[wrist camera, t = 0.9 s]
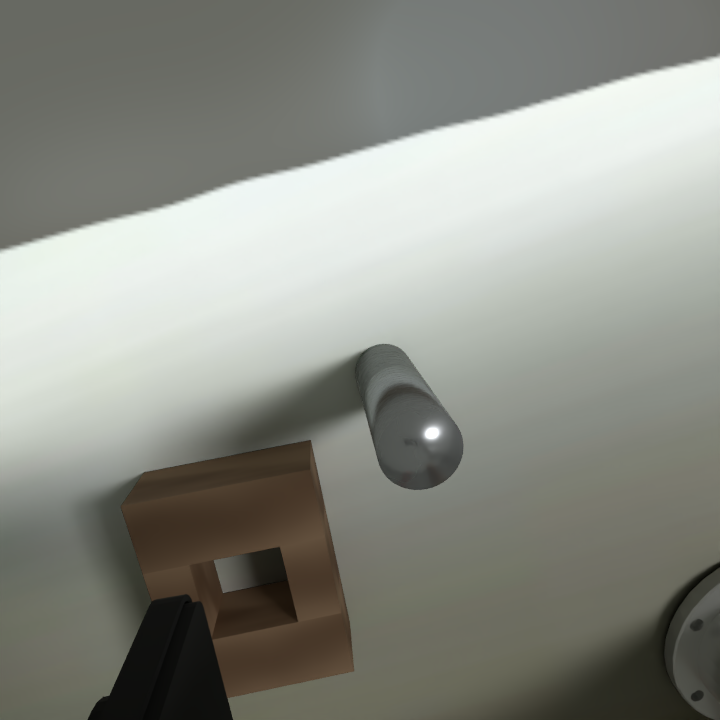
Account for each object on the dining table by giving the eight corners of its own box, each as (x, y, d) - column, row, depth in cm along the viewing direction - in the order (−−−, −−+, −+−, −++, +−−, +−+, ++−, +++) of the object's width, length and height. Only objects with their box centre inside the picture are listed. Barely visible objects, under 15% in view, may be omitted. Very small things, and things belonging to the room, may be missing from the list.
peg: (415, 392, 28) (468, 480, 18) (360, 403, 28) (384, 497, 18) (407, 339, 27) (457, 400, 18) (350, 349, 27) (370, 418, 18)
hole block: (349, 623, 31) (354, 671, 28) (200, 654, 31) (186, 706, 28) (310, 440, 28) (310, 469, 25) (144, 472, 28) (120, 506, 25)
